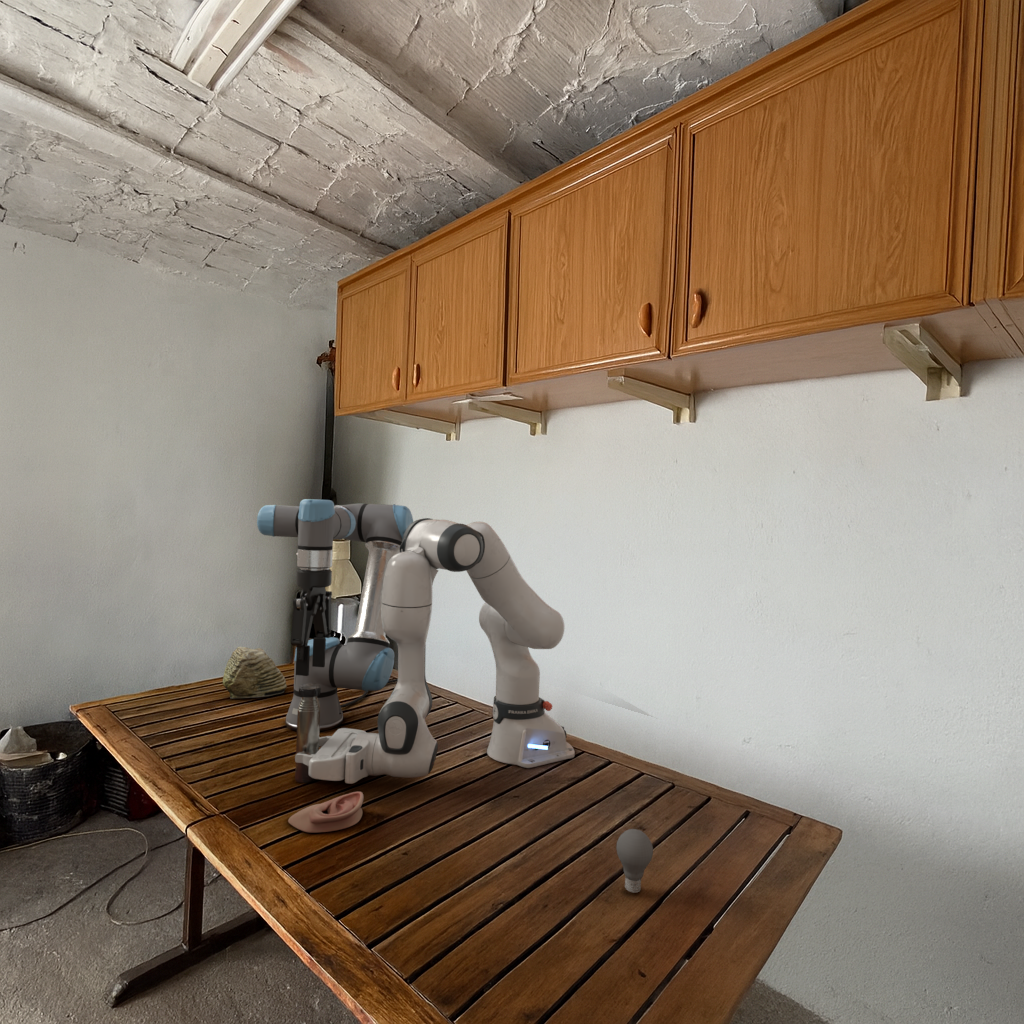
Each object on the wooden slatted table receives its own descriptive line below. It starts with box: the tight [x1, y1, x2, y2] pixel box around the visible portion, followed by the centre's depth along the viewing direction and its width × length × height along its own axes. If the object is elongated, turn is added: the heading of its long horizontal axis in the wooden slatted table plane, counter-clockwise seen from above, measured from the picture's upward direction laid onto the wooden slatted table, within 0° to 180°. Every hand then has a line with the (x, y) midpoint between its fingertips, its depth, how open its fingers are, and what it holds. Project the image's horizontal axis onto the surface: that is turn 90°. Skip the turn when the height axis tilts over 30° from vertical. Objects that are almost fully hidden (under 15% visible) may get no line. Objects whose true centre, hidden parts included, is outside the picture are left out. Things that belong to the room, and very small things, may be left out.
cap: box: [299, 684, 321, 698], centre depth 142 cm, size 5×5×2 cm
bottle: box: [294, 696, 321, 784], centre depth 142 cm, size 5×5×20 cm
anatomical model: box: [287, 791, 364, 834], centre depth 124 cm, size 13×4×12 cm
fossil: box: [222, 646, 288, 699], centre depth 198 cm, size 9×18×15 cm, turn 132°
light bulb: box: [615, 828, 654, 894], centre depth 106 cm, size 6×6×10 cm
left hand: (310, 670), depth 142 cm, fingers open, 7 cm apart
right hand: (303, 749), depth 142 cm, fingers open, 7 cm apart
